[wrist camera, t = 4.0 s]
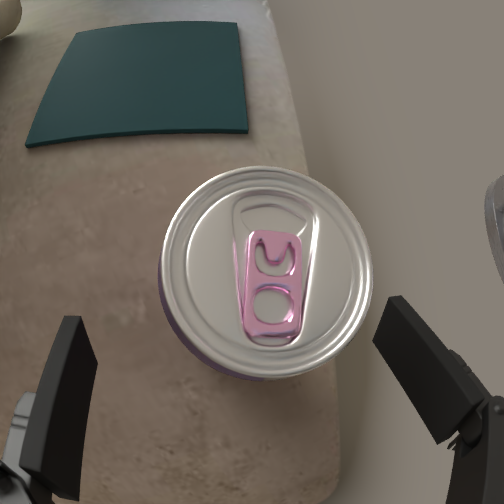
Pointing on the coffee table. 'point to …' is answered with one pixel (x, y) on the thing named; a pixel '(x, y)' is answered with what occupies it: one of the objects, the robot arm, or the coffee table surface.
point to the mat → (145, 83)
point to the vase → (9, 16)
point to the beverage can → (265, 273)
